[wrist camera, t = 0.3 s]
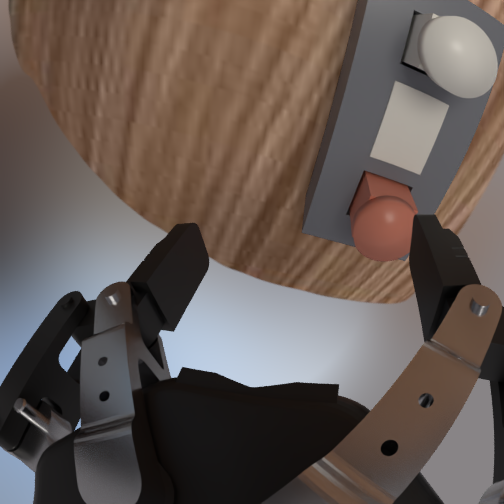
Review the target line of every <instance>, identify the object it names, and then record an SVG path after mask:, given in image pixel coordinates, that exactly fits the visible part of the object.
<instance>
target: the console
mask: <svg viewBox="0 0 504 504" xmlns="http://www.w3.org/2000/svg"><path fill="white" fill-rule="evenodd" d="M429 13H434V14H436V15H438V16H459V17H463V18H466V19H468V20H470V21H472V22H473V23H475V24H476V25H478V26H479V27H480V28H481V29H482V30H483V31H484V32H485V33H486V35H487V36H488V37H489V39H490V41H491V42H492V45H493V47H494V49H495V52H496V56H497V63H498V68H499V64H500V61H501V57H502V53H503V49H504V25H503V24H502V23H500V22H499V21H498V20H496V19H495V18H494V17H492V16H491V15H489V14H488V13H486V12H485V11H483V10H482V9H480V8H479V7H477V6H476V5H474V4H473V3H471V2H470V1H468V0H358V2H357V6H356V11H355V15H354V20H353V24H352V28H351V32H350V37H349V41H348V45H347V49H346V53H345V57H344V61H343V65H342V69H341V73H340V77H339V81H338V85H337V88H336V92H335V96H334V100H333V103H332V107H331V111H330V114H329V118H328V122H327V125H326V129H325V132H324V136H323V140H322V143H321V147H320V150H319V154H318V157H317V160H316V164H315V167H314V171H313V174H312V177H311V181H310V184H309V187H308V191H307V194H306V200H305V209H304V218H303V226H302V233H305V234H309V235H313V236H317V237H320V238H324V239H328V240H332V241H335V242H339V243H343V244H346V245H350V246H354V247H356V246H355V243H354V238H353V237H352V232H351V220H350V210H349V206H350V204H351V201H352V199H353V196H354V194H355V191H356V189H357V186H358V184H359V181H360V179H361V176H362V174H363V171H364V170H365V171H368V172H371V173H374V174H377V175H380V176H383V177H385V178H388V179H391V180H394V181H397V182H400V183H402V184H405V185H407V186H408V188H409V190H410V193H411V195H412V197H413V200H414V202H415V205H416V207H417V210H418V213H417V214H434V213H435V212H436V210H437V208H438V206H439V205H440V203H441V201H442V199H443V197H444V196H445V194H446V192H447V190H448V188H449V186H450V184H451V182H452V180H453V179H454V177H455V175H456V173H457V171H458V169H459V167H460V164H461V162H462V160H463V158H464V156H465V154H466V152H467V150H468V147H469V145H470V143H471V141H472V138H473V136H474V134H475V131H476V129H477V127H478V124H479V122H480V119H481V117H482V114H483V112H484V109H485V106H486V104H487V101H488V98H489V95H490V93H491V90H492V87H493V85H492V87H491V88H490V90H489V91H487V92H486V93H485V94H483V95H482V96H479V97H476V98H462V97H458V96H456V95H454V94H452V93H450V92H448V91H447V90H445V89H443V88H442V87H440V86H438V85H437V84H436V83H435V82H434V81H433V80H431V78H430V77H429V76H428V75H427V73H426V72H425V71H423V70H421V69H419V68H416V67H414V66H412V65H410V64H407V63H405V62H403V61H401V59H402V55H403V52H404V48H405V44H406V41H407V37H408V33H409V29H410V25H411V21H412V17H413V15H419V14H429ZM497 71H498V70H497ZM409 254H410V252H409V253H408V254H406V255H405V256H403V257H401V258H399V259H400V260H403V261H405V260H406V259H407V257H408V256H409Z"/></svg>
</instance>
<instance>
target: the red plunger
mask: <svg viewBox="0 0 504 504" xmlns="http://www.w3.org/2000/svg"><path fill="white" fill-rule="evenodd" d="M349 210H350V220H351V232H352V237H353V238H354V243H355V246H356V248H357V249H358V251H359V252H360V253H361V254H362V255H364V256H365V257H367V258H369V259H372V260H375V261H392V260H396V259H399V258H401V257H403V256H405V255H406V254H408V253H409V252H410V245H411V237H412V227H413V218H414V215H415V214H417V213H418V210H417V207H416V205H415V202H414V200H413V197H412V195H411V193H410V190H409V188H408V186H407V185H405V184H402V183H400V182H397V181H394V180H391V179H388V178H385V177H383V176H380V175H377V174H374V173H371V172H368V171H365V170H364V171H363V174H362V176H361V179H360V181H359V184H358V186H357V189H356V191H355V194H354V196H353V199H352V201H351V204H350V206H349Z"/></svg>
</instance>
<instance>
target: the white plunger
mask: <svg viewBox="0 0 504 504" xmlns="http://www.w3.org/2000/svg"><path fill="white" fill-rule="evenodd" d="M401 61H403V62H405V63H407V64H410V65H412V66H414V67H416V68H419V69H421V70H423V71H425V72H426V73H427V75H428V76H429V77H430V78H431V80H433V81H434V82H435V83H436V84H437V85H438V86H440V87H442V88H443V89H445V90H447V91H448V92H450V93H452V94H454V95H456V96H458V97H462V98H476V97H479V96H482V95H483V94H485V93H486V92H487V91H489V90H490V88H491V87H492V85H493V84H494V82H495V79H496V76H497V70H498V63H497V56H496V52H495V49H494V47H493V45H492V42H491V41H490V39H489V37H488V36H487V35H486V33H485V32H484V31H483V30H482V29H481V28H480V27H479V26H478V25H476V24H475V23H473V22H472V21H470V20H468V19H466V18H463V17H459V16H438V15H436V14H434V13H429V14H419V15H413V17H412V21H411V25H410V29H409V33H408V37H407V41H406V44H405V48H404V52H403V55H402V59H401Z"/></svg>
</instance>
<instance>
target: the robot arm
mask: <svg viewBox="0 0 504 504" xmlns="http://www.w3.org/2000/svg"><path fill="white" fill-rule="evenodd" d="M409 264H410V271H411V275H412V279H413V284H414V288H415V293H416V298H417V302H418V307H419V312H420V318H421V324H422V330H423V336H424V342H425V343H424V344H423V345H422V347H421V348H420V349H419V351H418V352H417V354H416V355H415V357H414V358H413V359H412V361H411V362H410V363H409V365H408V366H407V368H406V369H405V370H404V371H403V373H402V374H401V375H400V376H399V378H398V379H397V380H396V382H395V383H394V384H393V385H392V386H391V388H390V389H389V390H388V391H387V393H386V394H385V395H384V396H383V397H382V399H381V400H380V401H379V402H378V403H377V404H376V405H375V407H374V408H373V409H372V410H371V411H370V410H369V409H367V408H366V407H365V406H363V405H361V404H359V403H358V402H356V401H353V400H351V399H348V398H345V397H342V396H338V389H339V384H317V383H300V382H296V383H288V384H280V385H273V386H264V387H248V386H246V385H243V384H241V383H238V382H236V381H233V380H231V379H228V378H226V377H224V376H221V375H219V374H217V373H213V372H207V371H201V370H195V369H190V368H185V367H182V369H181V371H180V373H179V375H178V377H177V378H171V376H170V372H169V368H168V364H167V360H166V356H165V352H164V347H163V343H162V339H161V337H160V336H159V332H160V330H167V331H174V330H175V328H176V326H177V324H178V323H179V321H180V319H181V317H182V315H183V314H184V312H185V310H186V308H187V306H188V305H189V303H190V301H191V299H192V297H193V295H194V294H195V292H196V290H197V288H198V286H199V284H200V283H201V281H202V279H203V278H204V276H205V274H206V272H207V270H208V267H209V256H208V253H207V250H206V247H205V244H204V241H203V238H202V236H201V233H200V230H199V227H198V225H197V224H196V223H184V224H177V225H175V226H174V228H173V229H172V230H171V231H170V232H169V233H168V235H167V236H166V237H165V238H164V239H163V240H161V241H160V242H159V243H157V244H156V246H155V247H154V248H153V249H152V250H151V252H150V254H148V255H147V256H146V258H145V259H144V261H142V262H141V264H140V265H139V266H138V267H137V269H136V270H135V271H134V272H133V274H132V275H131V276H130V278H129V279H128V280H127V281H126V282H117V283H114V284H111V285H109V286H108V287H106V288H105V289H104V290H103V291H102V292H101V293H100V294H99V295H98V297H97V299H96V300H91V301H86V300H85V299H84V297H83V296H82V294H81V293H80V292H78V291H74V292H70V293H68V294H66V295H65V296H63V297H62V298H61V299H60V300H59V301H58V302H57V304H56V305H55V306H54V308H53V309H52V310H51V311H50V313H49V314H48V316H47V317H46V318H45V319H44V321H43V322H42V324H41V325H40V326H39V328H38V329H37V331H36V332H35V333H34V335H33V336H32V338H31V339H30V341H29V342H28V343H27V345H26V346H25V348H24V350H23V351H22V353H21V354H20V355H19V357H18V359H17V360H16V362H15V363H14V365H13V366H12V368H11V369H10V371H9V373H8V375H7V376H6V378H5V379H4V381H3V383H2V384H1V386H0V446H1V447H2V448H3V449H4V450H5V451H7V452H8V453H10V454H11V455H13V456H15V457H16V458H18V459H20V460H21V461H22V462H23V463H25V464H26V465H27V466H28V467H29V468H30V469H31V470H33V471H34V472H35V492H34V493H35V494H34V501H33V504H444V503H443V501H442V500H441V499H440V498H439V496H438V495H437V494H436V492H435V491H434V490H433V488H432V487H431V486H430V484H429V483H428V482H427V480H426V479H425V478H424V476H423V475H422V474H421V473H420V471H421V469H422V468H423V467H424V465H425V464H426V463H427V461H428V460H429V459H430V457H431V456H432V454H433V453H434V452H435V450H436V449H437V448H438V446H439V445H440V443H441V442H442V440H443V439H444V437H445V436H446V434H447V433H448V431H449V430H450V428H451V426H452V425H453V423H454V421H455V419H456V418H457V416H458V415H459V413H460V411H461V409H462V408H463V406H464V404H465V402H466V401H467V399H468V397H469V395H470V393H471V391H472V389H473V387H474V385H475V383H476V381H477V379H478V378H481V379H486V380H490V386H491V395H492V405H493V418H494V446H495V447H494V449H495V450H494V452H495V454H494V477H493V485H492V486H490V487H489V488H488V489H487V490H486V492H485V493H484V494H483V496H482V497H481V499H480V502H479V504H504V307H503V306H502V304H501V301H500V299H499V297H498V296H497V294H496V293H495V292H493V291H492V290H491V289H489V288H488V287H485V286H483V285H481V283H480V281H479V278H478V276H477V274H476V272H475V270H474V267H473V265H472V263H471V261H470V259H469V258H468V255H467V253H466V251H465V249H464V247H463V245H462V243H461V241H460V239H459V237H458V236H457V235H455V234H454V233H453V232H452V231H451V230H450V229H443V228H442V226H441V225H440V223H439V221H438V219H437V217H436V215H434V214H415V215H414V218H413V227H412V237H411V245H410V254H409ZM71 336H72V337H73V338H74V339H75V340H76V342H77V343H78V344H79V345H80V347H81V350H80V351H79V353H78V355H77V356H76V358H75V360H74V362H73V363H72V365H71V366H70V368H69V370H68V372H66V371H65V370H64V369H63V368H62V367H61V366H60V364H59V354H60V352H61V351H62V349H63V347H64V346H65V344H66V343H67V341H68V340H69V338H70V337H71ZM41 399H42V400H41ZM80 418H81V427H80V428H79V429H77V430H75V428H76V426H77V424H78V422H79V419H80ZM74 430H75V431H74Z"/></svg>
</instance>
